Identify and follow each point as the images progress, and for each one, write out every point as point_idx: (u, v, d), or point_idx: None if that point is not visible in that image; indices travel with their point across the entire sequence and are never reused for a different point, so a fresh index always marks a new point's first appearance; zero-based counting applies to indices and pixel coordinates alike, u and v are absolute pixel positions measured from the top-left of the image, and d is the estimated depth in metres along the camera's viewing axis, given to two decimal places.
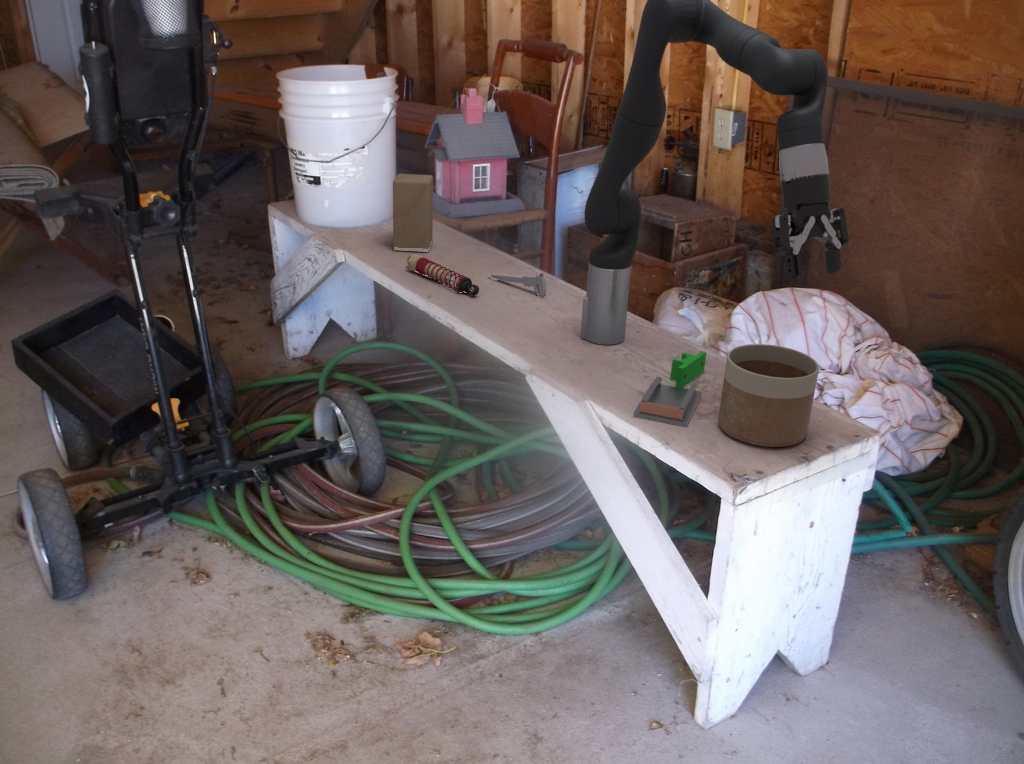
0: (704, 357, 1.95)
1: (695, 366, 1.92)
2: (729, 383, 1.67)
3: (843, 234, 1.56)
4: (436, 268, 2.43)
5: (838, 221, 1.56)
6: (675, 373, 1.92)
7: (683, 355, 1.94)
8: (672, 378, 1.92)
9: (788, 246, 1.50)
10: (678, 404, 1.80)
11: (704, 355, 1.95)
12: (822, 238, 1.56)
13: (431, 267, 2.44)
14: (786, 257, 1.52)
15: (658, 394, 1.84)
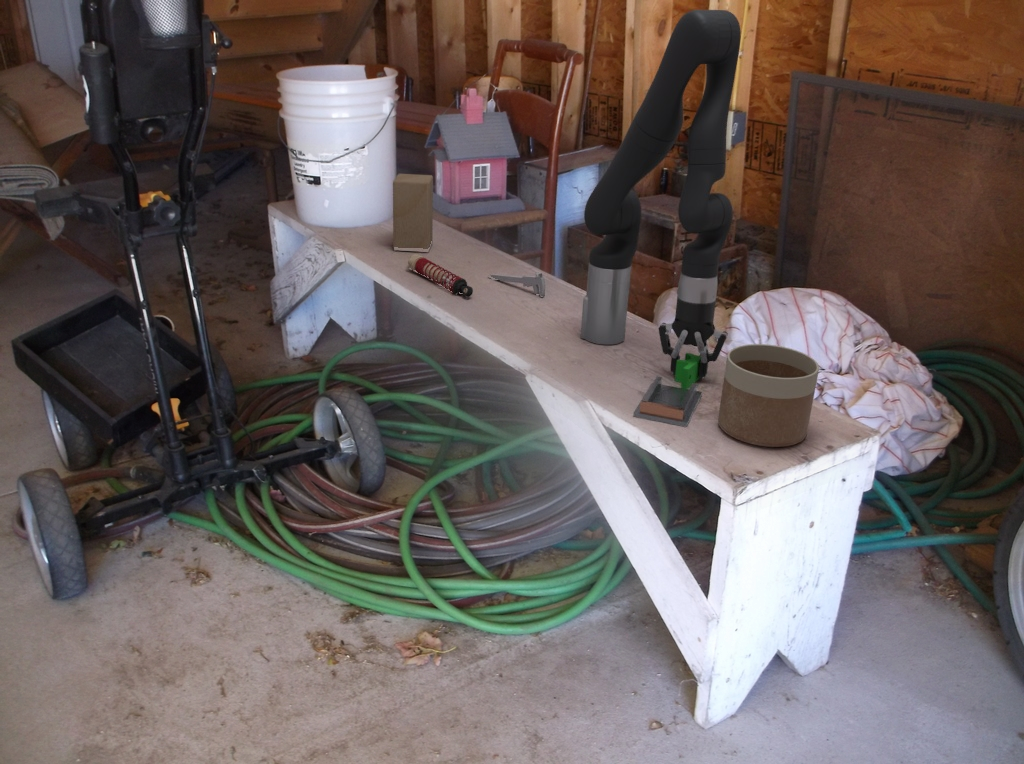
0: None
1: (699, 366, 1.92)
2: (729, 383, 1.67)
3: (713, 353, 1.88)
4: (434, 268, 2.42)
5: (717, 342, 1.87)
6: (679, 374, 1.91)
7: (686, 356, 1.94)
8: (677, 379, 1.92)
9: (667, 350, 1.91)
10: (678, 404, 1.80)
11: None
12: None
13: (429, 267, 2.43)
14: None
15: (658, 394, 1.84)
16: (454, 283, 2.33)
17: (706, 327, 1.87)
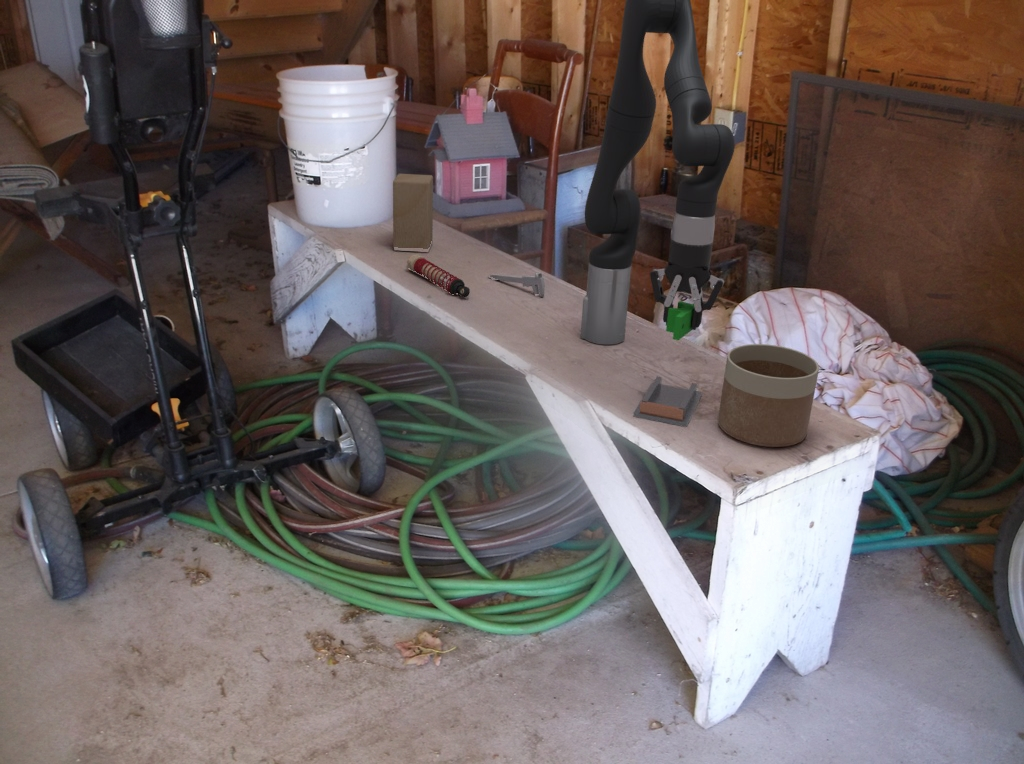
0: None
1: None
2: (729, 383, 1.67)
3: (708, 301, 1.73)
4: (432, 269, 2.42)
5: (713, 289, 1.72)
6: (671, 323, 1.76)
7: (679, 304, 1.79)
8: (668, 329, 1.77)
9: (659, 298, 1.76)
10: (678, 404, 1.80)
11: None
12: None
13: (428, 268, 2.43)
14: None
15: (658, 394, 1.84)
16: (451, 283, 2.33)
17: (702, 272, 1.72)
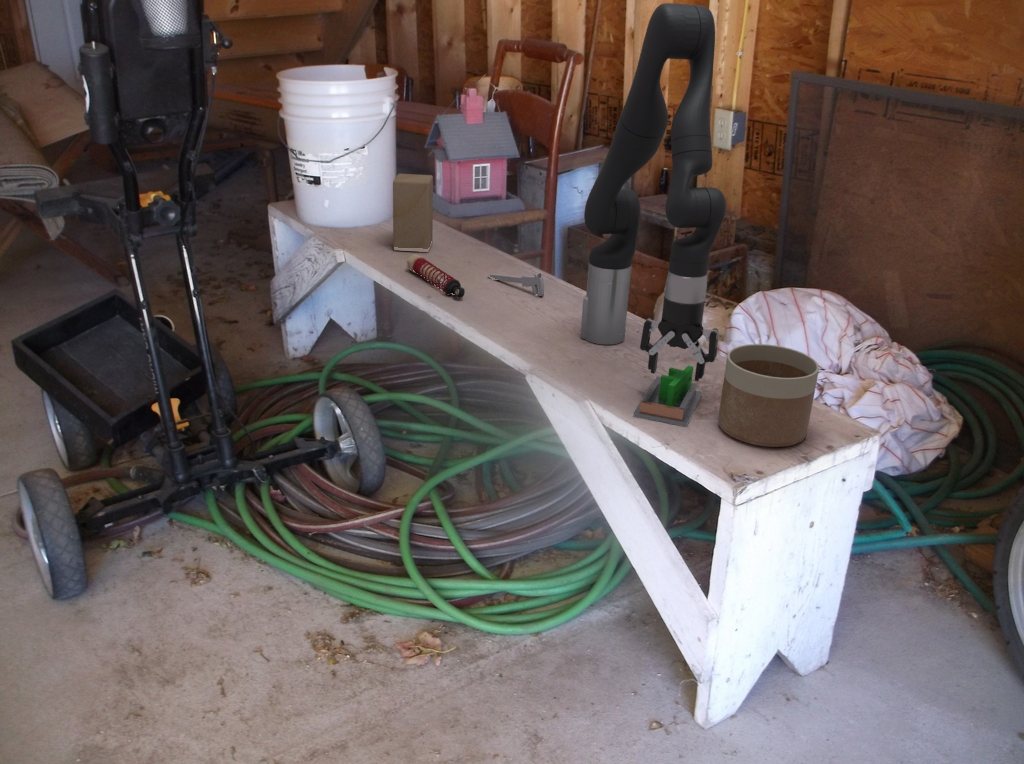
0: (691, 371, 1.85)
1: (684, 382, 1.82)
2: (729, 383, 1.67)
3: (709, 354, 1.77)
4: (430, 269, 2.42)
5: None
6: (664, 390, 1.81)
7: (670, 370, 1.84)
8: (661, 396, 1.82)
9: (644, 346, 1.81)
10: (678, 404, 1.80)
11: (691, 369, 1.85)
12: None
13: (426, 268, 2.43)
14: None
15: (658, 394, 1.84)
16: (447, 284, 2.33)
17: (693, 329, 1.76)
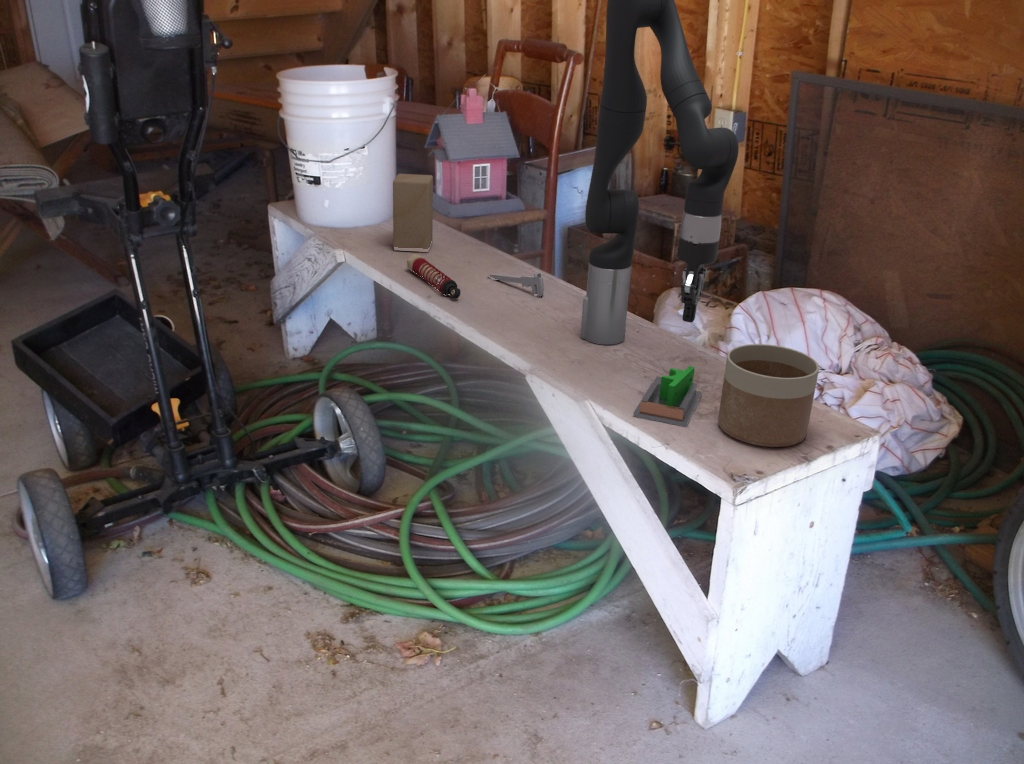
0: (692, 372, 1.85)
1: (685, 382, 1.82)
2: (729, 383, 1.67)
3: None
4: (428, 269, 2.41)
5: None
6: (664, 391, 1.81)
7: (671, 371, 1.84)
8: (661, 396, 1.82)
9: (695, 300, 1.83)
10: (678, 404, 1.80)
11: (693, 370, 1.85)
12: None
13: (424, 268, 2.43)
14: (687, 305, 1.85)
15: (658, 394, 1.84)
16: (443, 284, 2.32)
17: None
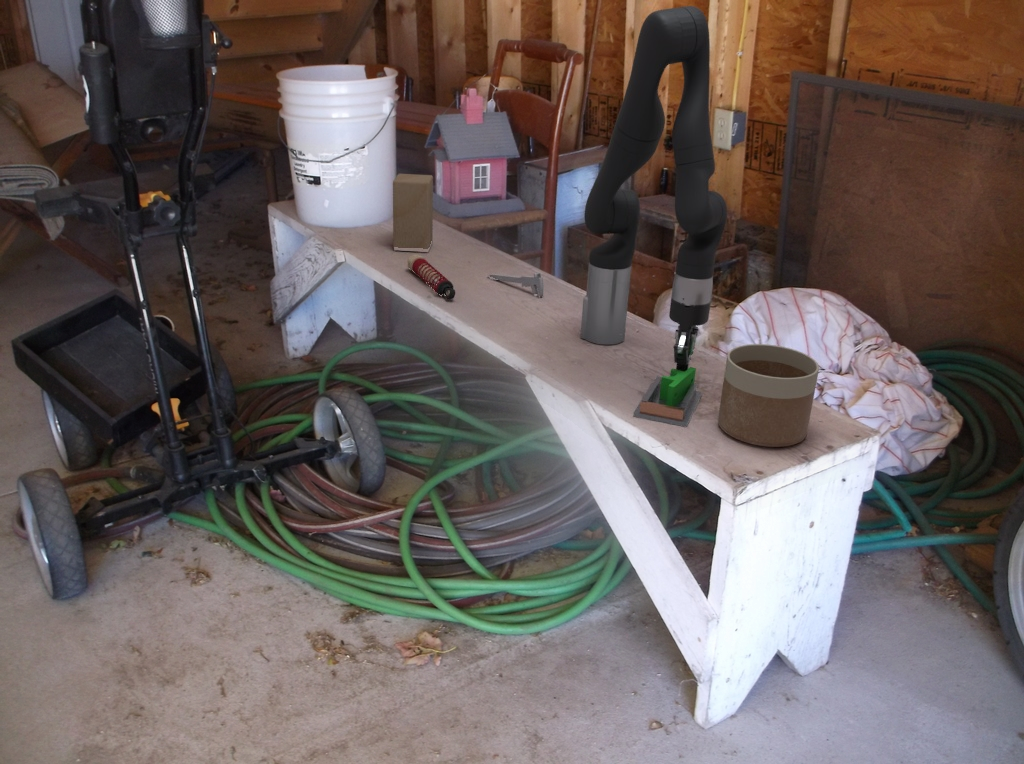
0: (694, 373, 1.85)
1: (685, 383, 1.82)
2: (729, 383, 1.67)
3: None
4: (427, 269, 2.41)
5: None
6: (664, 391, 1.81)
7: (672, 372, 1.84)
8: (661, 396, 1.81)
9: (687, 359, 1.84)
10: (678, 404, 1.80)
11: (694, 371, 1.84)
12: None
13: (423, 268, 2.43)
14: (679, 364, 1.86)
15: (658, 394, 1.84)
16: (439, 285, 2.32)
17: None
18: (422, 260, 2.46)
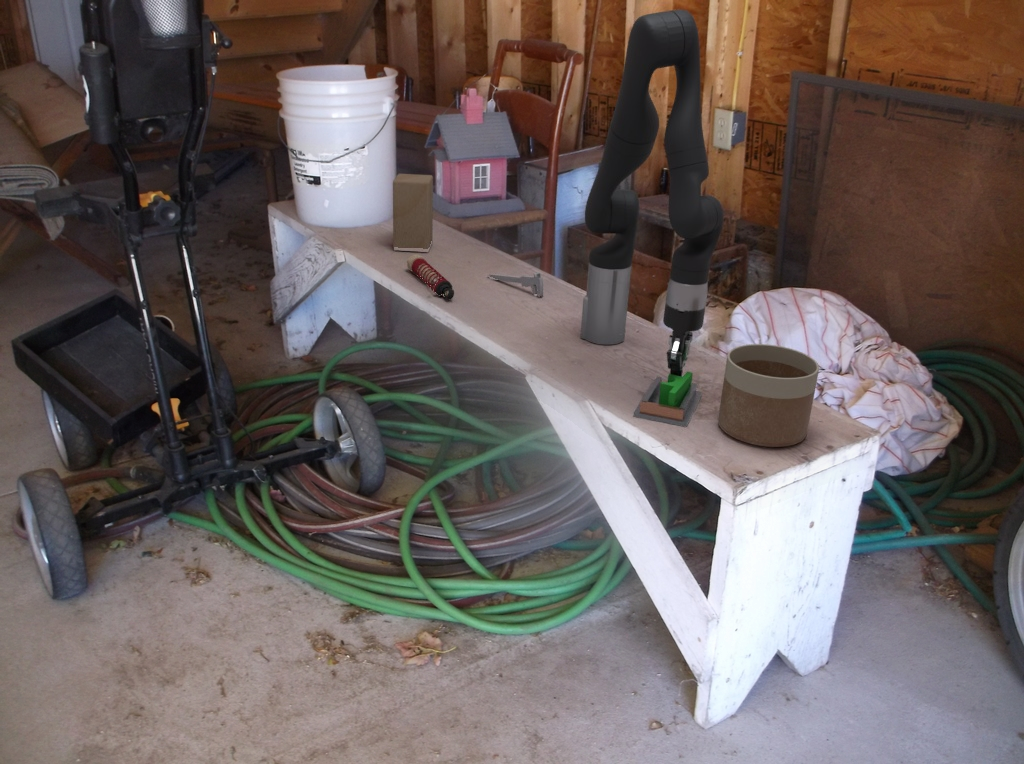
0: (691, 378, 1.82)
1: (684, 389, 1.79)
2: (729, 383, 1.67)
3: None
4: (426, 269, 2.41)
5: None
6: (664, 398, 1.78)
7: (669, 377, 1.81)
8: (661, 403, 1.79)
9: (681, 366, 1.82)
10: None
11: (691, 376, 1.82)
12: None
13: (422, 268, 2.43)
14: (673, 370, 1.84)
15: (658, 394, 1.84)
16: (437, 285, 2.32)
17: None
18: (421, 260, 2.46)
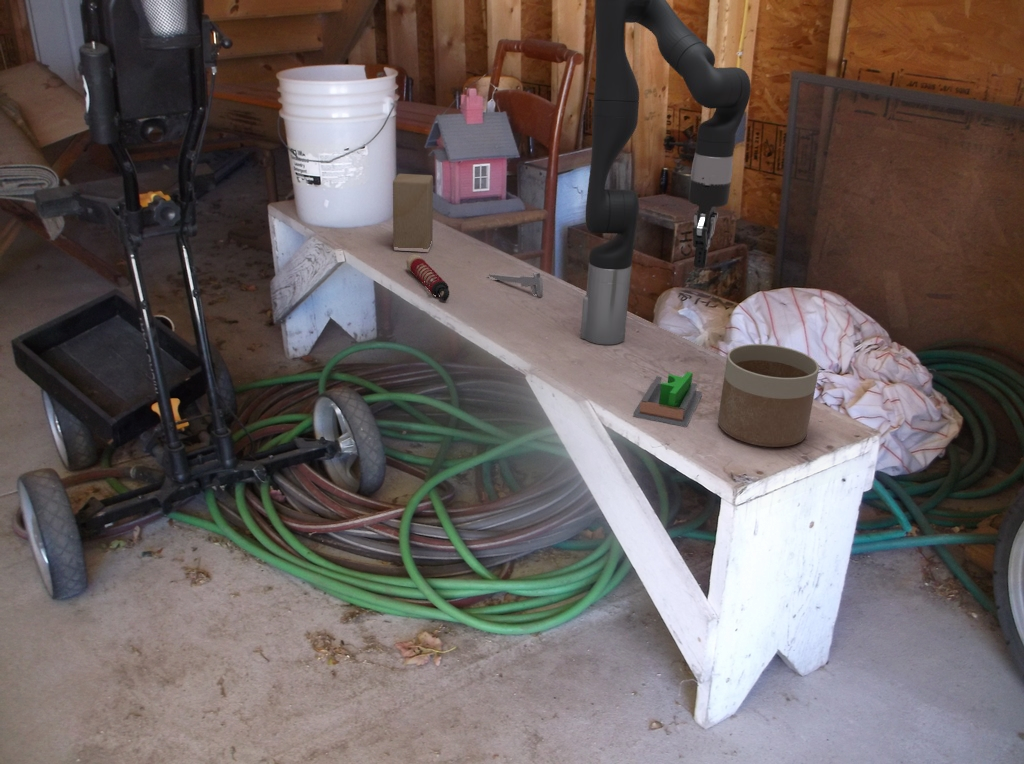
0: (691, 378, 1.82)
1: (684, 389, 1.79)
2: (729, 383, 1.67)
3: None
4: (424, 270, 2.41)
5: None
6: (664, 398, 1.78)
7: (669, 377, 1.81)
8: (661, 403, 1.79)
9: (707, 244, 1.82)
10: None
11: (691, 376, 1.82)
12: None
13: (420, 268, 2.42)
14: (698, 250, 1.84)
15: (658, 394, 1.84)
16: (433, 285, 2.31)
17: None
18: (420, 260, 2.46)
